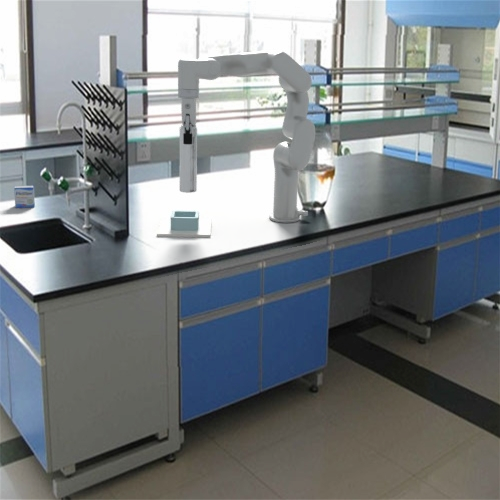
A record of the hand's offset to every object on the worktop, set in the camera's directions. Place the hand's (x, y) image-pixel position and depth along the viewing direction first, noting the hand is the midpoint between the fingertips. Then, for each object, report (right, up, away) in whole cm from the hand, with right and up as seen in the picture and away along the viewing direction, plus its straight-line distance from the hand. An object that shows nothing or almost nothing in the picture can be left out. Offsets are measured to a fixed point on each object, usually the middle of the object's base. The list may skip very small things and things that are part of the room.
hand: (188, 142), depth 270 cm
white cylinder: (-1, -18, +6) cm, 19 cm away
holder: (-2, -32, +10) cm, 34 cm away
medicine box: (-72, -22, +36) cm, 84 cm away
